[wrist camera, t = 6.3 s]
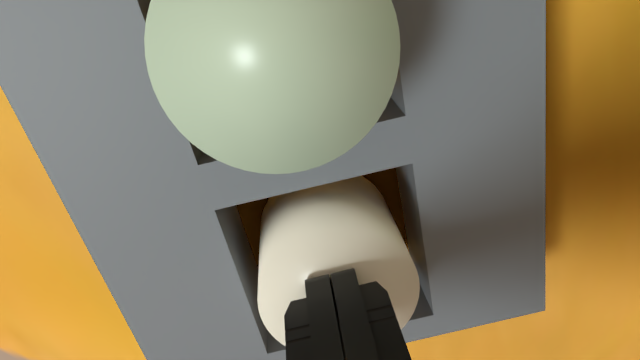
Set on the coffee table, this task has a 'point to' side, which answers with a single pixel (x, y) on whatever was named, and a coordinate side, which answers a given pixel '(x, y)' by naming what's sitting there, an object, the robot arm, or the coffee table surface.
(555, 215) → the coffee table surface
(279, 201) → the button cream
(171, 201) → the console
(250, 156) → the button sage
